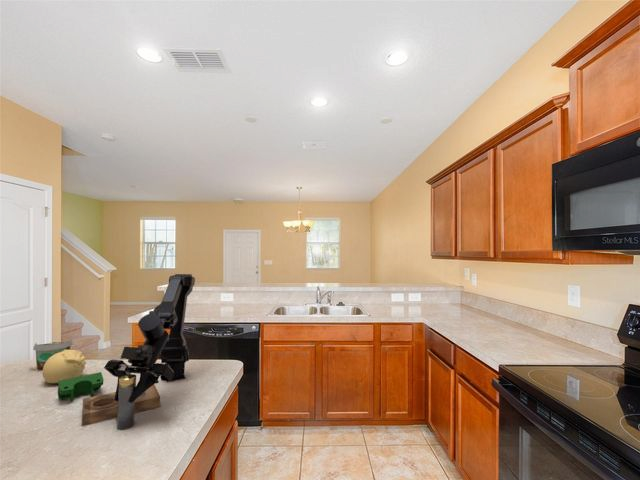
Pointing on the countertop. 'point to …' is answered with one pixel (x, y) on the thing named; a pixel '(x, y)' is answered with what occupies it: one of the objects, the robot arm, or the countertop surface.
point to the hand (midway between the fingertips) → (122, 401)
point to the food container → (49, 351)
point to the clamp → (80, 386)
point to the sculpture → (64, 366)
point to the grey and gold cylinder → (126, 402)
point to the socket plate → (115, 405)
